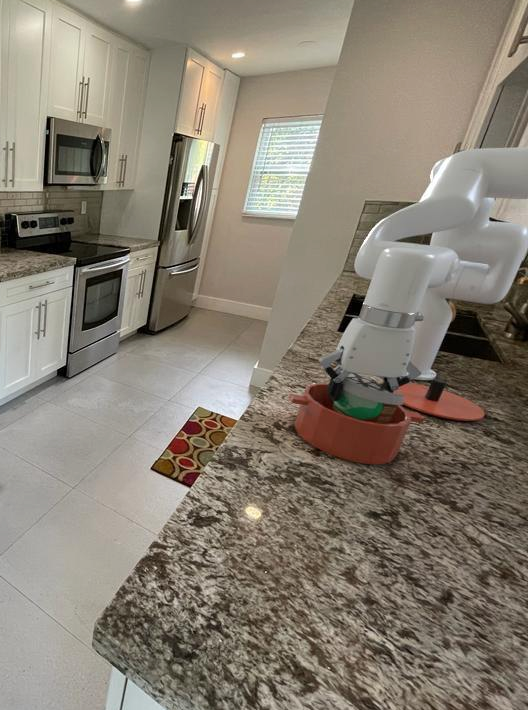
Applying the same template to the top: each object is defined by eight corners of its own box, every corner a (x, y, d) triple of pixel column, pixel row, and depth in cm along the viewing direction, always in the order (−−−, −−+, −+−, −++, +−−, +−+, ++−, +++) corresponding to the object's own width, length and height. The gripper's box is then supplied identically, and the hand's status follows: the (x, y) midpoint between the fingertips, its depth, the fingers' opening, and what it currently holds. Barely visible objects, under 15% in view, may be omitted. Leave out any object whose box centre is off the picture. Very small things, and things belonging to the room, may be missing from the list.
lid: (369, 381, 109) (377, 360, 107) (451, 392, 104) (461, 370, 102) (405, 414, 94) (415, 391, 91) (504, 429, 89) (517, 405, 87)
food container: (309, 408, 89) (322, 366, 85) (336, 407, 89) (350, 365, 85) (357, 442, 77) (374, 396, 74) (388, 441, 78) (406, 395, 74)
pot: (271, 408, 95) (280, 376, 92) (385, 426, 89) (399, 392, 86) (293, 451, 80) (305, 413, 77) (431, 475, 74) (450, 436, 71)
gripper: (432, 316, 76) (397, 400, 82) (323, 306, 81) (299, 386, 87) (459, 329, 69) (419, 419, 76) (339, 317, 74) (311, 403, 80)
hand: (355, 400), depth 81 cm, fingers closed on food container, 7 cm apart
